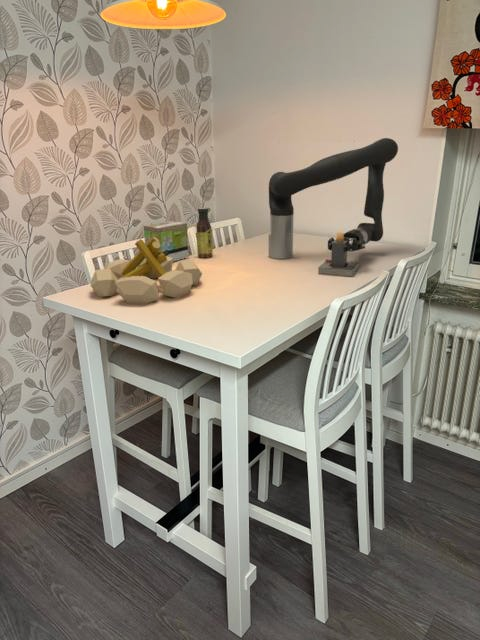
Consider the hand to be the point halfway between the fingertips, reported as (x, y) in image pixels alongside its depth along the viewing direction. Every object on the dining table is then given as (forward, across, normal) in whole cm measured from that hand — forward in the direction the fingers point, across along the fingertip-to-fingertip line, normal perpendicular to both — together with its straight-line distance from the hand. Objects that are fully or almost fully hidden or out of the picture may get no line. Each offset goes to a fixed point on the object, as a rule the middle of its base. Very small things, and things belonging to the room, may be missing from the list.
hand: (337, 248), depth 173 cm
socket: (-2, 0, +9) cm, 9 cm away
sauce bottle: (+2, -57, +9) cm, 58 cm away
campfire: (+48, -47, +9) cm, 67 cm away
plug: (-3, 0, +7) cm, 8 cm away
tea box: (+14, -67, +9) cm, 69 cm away
